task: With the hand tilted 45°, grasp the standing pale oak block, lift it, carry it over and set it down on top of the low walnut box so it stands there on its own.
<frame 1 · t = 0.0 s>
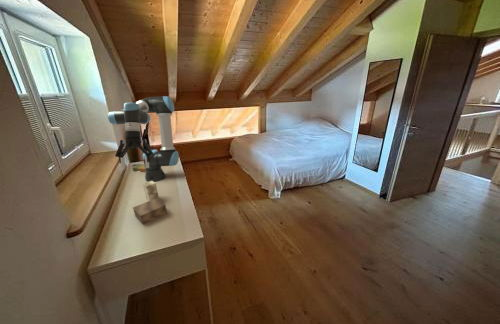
hand: (135, 168, 119), 28 cm above the table, tool tilted 20°, fingers open, 13 cm apart
walnut box: (151, 215, 125), on the table
oak block: (153, 199, 141), on the table
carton: (143, 170, 192), on the table
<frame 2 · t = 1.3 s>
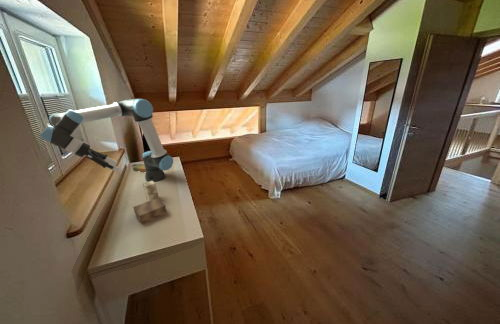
hand: (117, 167, 126), 27 cm above the table, tool tilted 45°, fingers open, 13 cm apart
nothing on the table moved.
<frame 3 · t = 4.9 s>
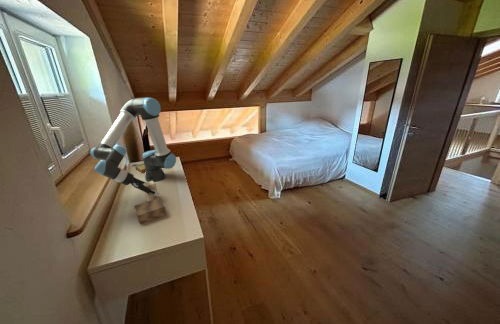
hand: (157, 192, 142), 4 cm above the table, tool tilted 45°, fingers closed on oak block, 7 cm apart
oak block: (153, 199, 141), on the table, touching gripper
when the fingers open (11 cm above the table, at t = 9.8 s): oak block drops 2 cm, resting on walnut box.
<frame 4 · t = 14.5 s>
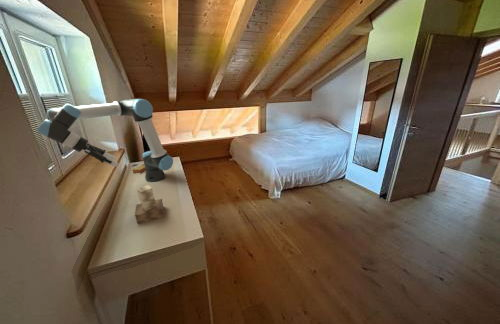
hand: (116, 162, 125), 30 cm above the table, tool tilted 45°, fingers open, 13 cm apart
walnut box: (151, 215, 124), on the table, touching oak block
oak block: (149, 206, 122), point 6 cm above the table, touching walnut box
at the end: oak block inside the target area on the walnut box (0.1 cm from its centre), point 6.1 cm above the walnut box's base; oak block tilted 1°; the gripper is holding nothing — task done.
